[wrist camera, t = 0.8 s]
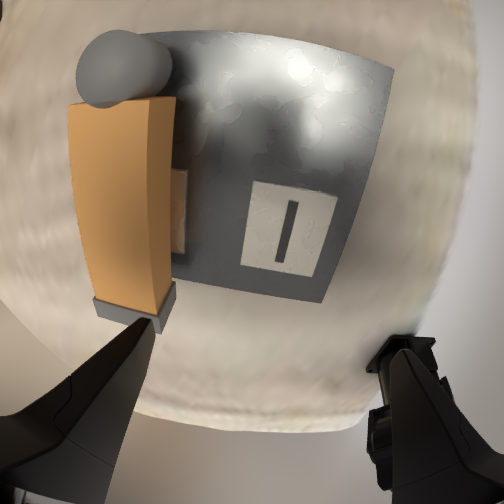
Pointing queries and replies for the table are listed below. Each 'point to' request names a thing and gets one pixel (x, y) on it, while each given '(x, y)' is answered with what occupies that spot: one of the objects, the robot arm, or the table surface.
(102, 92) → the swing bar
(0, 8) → the beer bottle
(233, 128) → the label panel
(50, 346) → the table surface
